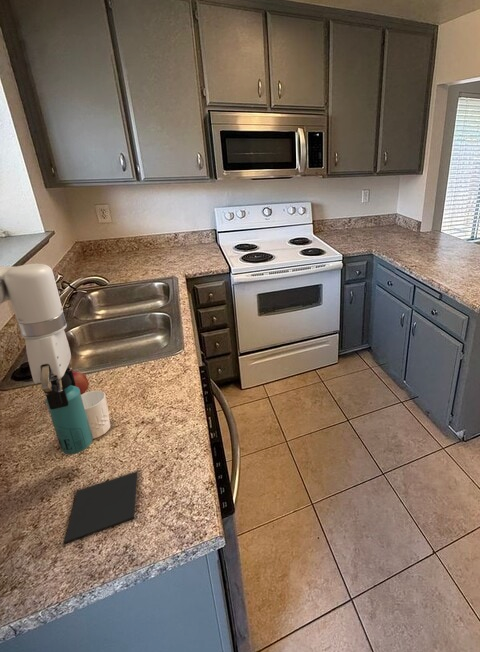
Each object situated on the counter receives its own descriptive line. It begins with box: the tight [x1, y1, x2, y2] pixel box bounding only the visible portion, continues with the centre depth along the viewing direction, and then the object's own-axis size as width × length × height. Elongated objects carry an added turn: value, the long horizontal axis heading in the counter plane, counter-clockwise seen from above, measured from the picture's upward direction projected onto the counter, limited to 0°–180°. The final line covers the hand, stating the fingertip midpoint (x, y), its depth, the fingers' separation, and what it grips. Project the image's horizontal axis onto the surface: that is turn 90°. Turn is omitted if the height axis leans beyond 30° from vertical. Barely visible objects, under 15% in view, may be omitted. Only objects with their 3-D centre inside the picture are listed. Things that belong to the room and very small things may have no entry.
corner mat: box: [64, 471, 138, 544], centre depth 76 cm, size 12×12×1 cm
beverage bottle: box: [45, 374, 93, 456], centre depth 80 cm, size 6×7×20 cm
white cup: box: [81, 389, 111, 439], centre depth 95 cm, size 8×8×10 cm
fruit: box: [69, 369, 90, 395], centre depth 109 cm, size 8×8×10 cm
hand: (63, 396), depth 79 cm, fingers closed on beverage bottle, 6 cm apart
